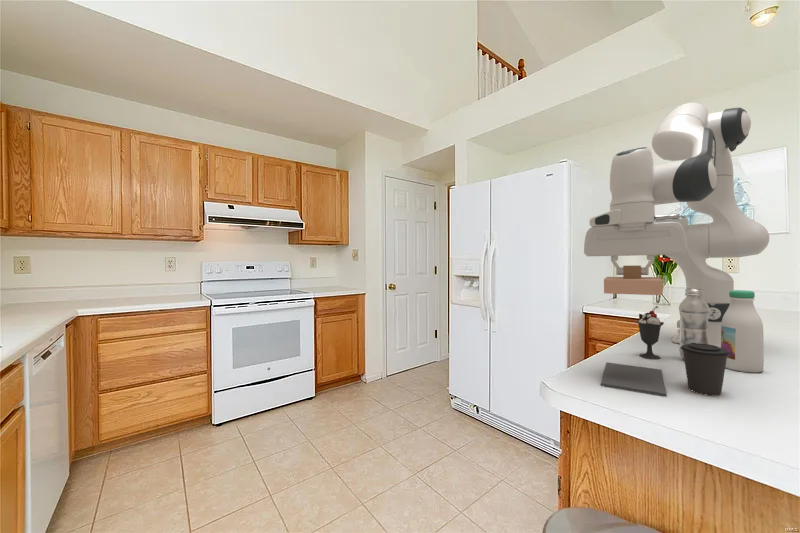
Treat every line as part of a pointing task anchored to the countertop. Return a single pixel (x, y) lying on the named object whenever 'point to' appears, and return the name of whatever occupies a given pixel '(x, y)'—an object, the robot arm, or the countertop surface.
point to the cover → (633, 283)
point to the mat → (634, 379)
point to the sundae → (649, 332)
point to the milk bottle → (743, 333)
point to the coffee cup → (705, 367)
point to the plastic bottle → (693, 318)
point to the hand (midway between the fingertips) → (632, 274)
